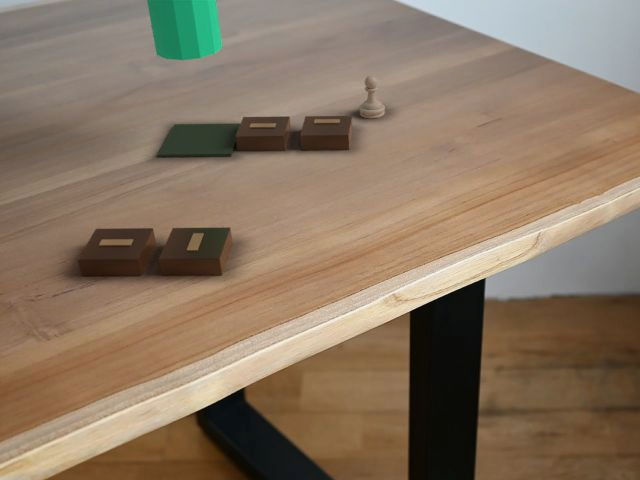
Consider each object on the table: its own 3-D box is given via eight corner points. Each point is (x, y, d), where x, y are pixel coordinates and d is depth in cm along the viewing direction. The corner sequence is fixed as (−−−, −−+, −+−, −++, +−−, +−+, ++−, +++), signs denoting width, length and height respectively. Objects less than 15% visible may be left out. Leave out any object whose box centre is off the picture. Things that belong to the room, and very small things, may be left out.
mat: (158, 157, 84) (157, 154, 84) (174, 126, 90) (174, 124, 90) (231, 156, 84) (230, 153, 84) (243, 126, 90) (243, 123, 89)
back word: (237, 151, 85) (235, 135, 84) (244, 130, 89) (243, 115, 88) (349, 150, 84) (348, 134, 84) (352, 129, 88) (351, 114, 87)
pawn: (382, 107, 93) (381, 69, 90) (387, 117, 90) (386, 79, 88) (357, 110, 92) (355, 72, 90) (361, 120, 90) (359, 82, 88)
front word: (81, 276, 67) (76, 258, 67) (99, 244, 71) (95, 227, 70) (222, 275, 67) (219, 257, 66) (232, 243, 71) (230, 226, 70)
